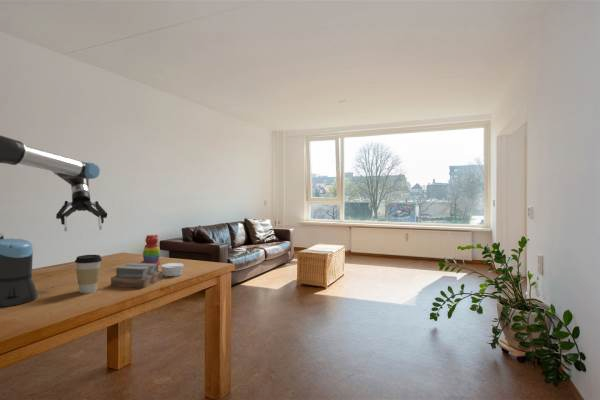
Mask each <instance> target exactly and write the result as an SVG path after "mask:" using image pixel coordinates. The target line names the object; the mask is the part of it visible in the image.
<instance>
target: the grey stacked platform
mask: <svg viewBox="0 0 600 400" xmlns="http://www.w3.org/2000/svg"><path fill="white" fill-rule="evenodd" d="M115 269H116V270H115V271H116V273H115V274H116V275H114V276H111V277H110V287H121V288H134V287H136V288H137V289H144V288H147V287H149V286H151V285H153V284H156V283H157V281H158V282H159V280H160V281H161V279H162V280H163V276H164V275H163V271H162V270H159V265H158V264H153V263H140V262H131V263H128V264H125V265H122V266H119V267H115ZM155 282H156V283H155ZM136 288H135V289H136Z"/></svg>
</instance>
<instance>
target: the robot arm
mask: <svg viewBox="0 0 600 400" xmlns="http://www.w3.org/2000/svg"><path fill="white" fill-rule="evenodd" d="M0 164H4V165H6V164H7V165H12V166H16V165H24V166H28V167H31V168H37V169H41V170H46V171H50V172H52V173H53V174H54V175H56V176H58V177H59V178H60V179H62V180H63V181H65V182H66V183H68V184H69V185H70V186H71V202H70V201H69V202H68V201H67V200H65V201H64V204H63V205H62V207H61V208H60V209H59V210H58V212H57V213H56V215H55V219H56V220H60V223H61V226H62V225H63V226H64V232H67V231H68V224H67V223H68V222H67V221H68V217H69V216H71V215H72V214H73V213H75V212H77V211H78V212H81V211H83V212H86V211H87V212H89V213H91V214H92V215H94V216H95V217H97V218H98V219H97V221H98V229H99V231H102V229H103V228H102V227H103V224H104V219H107V217H108V213H107V212H106V210H105V209H104V208H103V207H102V206H101V205H100V204H99V201H98V200H96V201H95V202H92V201H91V194H90V193H91V192H90V185H89V183H90V182H89V181H90V180H91V179H97V178H98V177H99V176H100V173H101V172H100V171H101V169H100V167H99V165H98V164H96V163H95V162H94V163H93V162H84V161H80V160H77V159H74V158H70V157H67V156H64V155H59V154H56V153H53V152H49V151H45V150H42V149H39V148H35V147H32V146H28V145H25V144H24V143H23V142H22V141H21V140H17V139H13V138H9V137H7V136H4V135H0ZM70 206H71V207H70ZM69 207H70V208H69ZM33 255H34V250H33V243H32V242H31V241H30V240H27V239H22V238H4V234H3V233H1V232H0V307H3V308H4V307H10V306H17V305H22V304H25V303H26V304H27V303H29V302H31V301H32V302H33V301H35V300H36V299H37V298H38V290H37V289H36V286H35V283H34V280H33V257H34V256H33Z"/></svg>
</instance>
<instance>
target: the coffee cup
mask: <svg viewBox="0 0 600 400" xmlns="http://www.w3.org/2000/svg"><path fill="white" fill-rule="evenodd" d="M102 260H103V259H102V257H101V255H99V254H84V255H79V256H76V259H75V260H74V263H75V264H76V268H75V271H76V277H77V278H76V279H77V285H78V291H79V294H80V293H81V294H90V293H96V291H97V288H98V283H99V277H100V276H99V275H100V271H101V262H102Z"/></svg>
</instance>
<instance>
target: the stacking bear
mask: <svg viewBox="0 0 600 400" xmlns="http://www.w3.org/2000/svg"><path fill="white" fill-rule="evenodd" d="M158 236H159V235H158V234H151V235H150V234H147V235H146V237H145V239H144V240H145V243H146V244H145V246H144V248H143V251H142V257H143V260H141V261H140V262H139V263H153V264H158V266H159V265H160V264H161V261H160V257H161V250H160V246H159V245H158V242H159V238H158Z"/></svg>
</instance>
